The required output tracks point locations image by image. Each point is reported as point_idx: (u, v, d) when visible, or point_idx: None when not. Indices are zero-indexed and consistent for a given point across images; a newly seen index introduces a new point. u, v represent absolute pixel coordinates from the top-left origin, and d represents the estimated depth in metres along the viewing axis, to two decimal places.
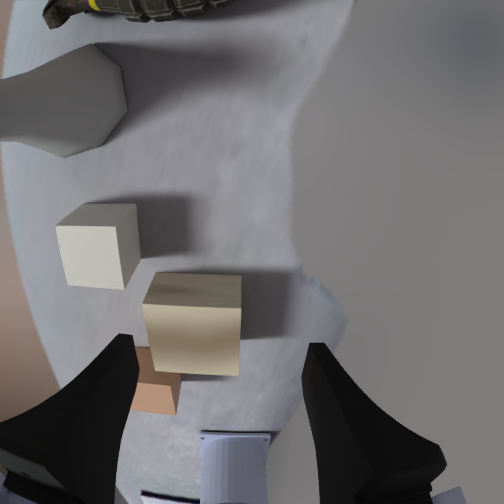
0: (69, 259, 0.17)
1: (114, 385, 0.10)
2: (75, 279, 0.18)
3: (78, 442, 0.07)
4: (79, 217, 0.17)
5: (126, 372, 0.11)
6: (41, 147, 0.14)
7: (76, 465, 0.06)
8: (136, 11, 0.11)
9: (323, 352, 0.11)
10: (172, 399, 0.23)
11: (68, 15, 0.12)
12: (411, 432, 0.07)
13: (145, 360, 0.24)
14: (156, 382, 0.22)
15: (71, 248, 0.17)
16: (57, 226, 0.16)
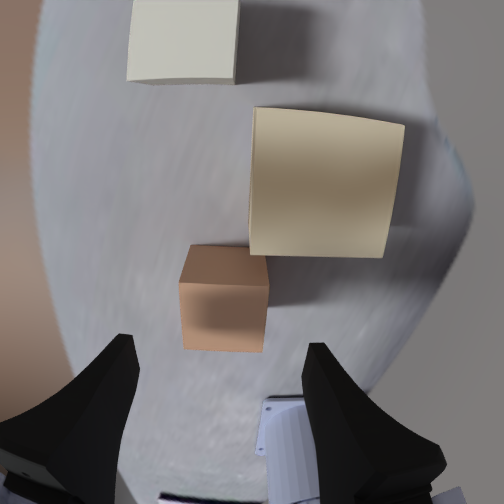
0: (143, 35, 0.09)
1: (114, 385, 0.10)
2: (143, 68, 0.10)
3: (78, 442, 0.07)
4: None
5: (126, 372, 0.11)
6: None
7: (76, 465, 0.06)
8: None
9: (323, 352, 0.11)
10: (264, 318, 0.15)
11: None
12: (411, 432, 0.07)
13: (217, 258, 0.16)
14: (243, 282, 0.14)
15: (153, 17, 0.09)
16: None
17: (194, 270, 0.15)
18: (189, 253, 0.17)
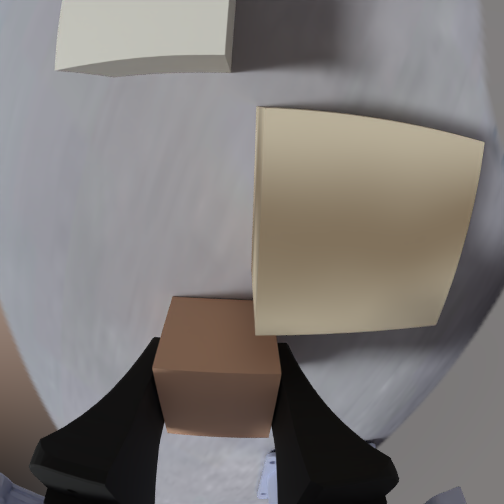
0: None
1: (155, 391, 0.10)
2: (78, 48, 0.05)
3: (129, 453, 0.07)
4: None
5: None
6: None
7: (128, 477, 0.06)
8: None
9: (283, 353, 0.11)
10: (273, 406, 0.10)
11: None
12: (362, 441, 0.07)
13: (207, 322, 0.11)
14: (243, 367, 0.10)
15: None
16: None
17: (175, 345, 0.10)
18: (169, 313, 0.12)
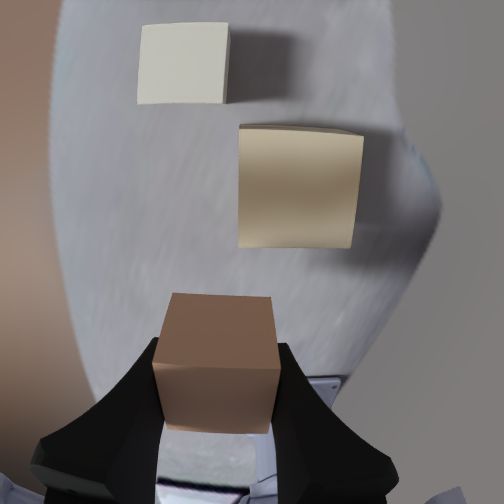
0: (150, 66, 0.12)
1: (155, 390, 0.10)
2: (150, 94, 0.13)
3: (129, 453, 0.07)
4: None
5: None
6: None
7: (128, 477, 0.06)
8: None
9: (283, 353, 0.11)
10: (272, 401, 0.10)
11: None
12: (362, 441, 0.07)
13: (207, 318, 0.12)
14: (243, 362, 0.10)
15: (158, 51, 0.12)
16: (145, 25, 0.11)
17: (175, 340, 0.10)
18: (169, 308, 0.12)
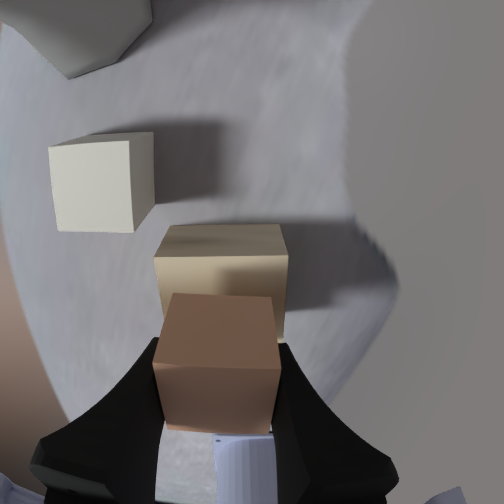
0: (62, 193, 0.12)
1: (155, 390, 0.10)
2: (67, 222, 0.13)
3: (129, 453, 0.07)
4: (80, 140, 0.13)
5: None
6: (44, 50, 0.10)
7: (128, 477, 0.06)
8: None
9: (283, 353, 0.11)
10: (273, 401, 0.10)
11: None
12: (362, 441, 0.07)
13: (207, 318, 0.12)
14: (243, 362, 0.10)
15: (66, 177, 0.12)
16: (51, 147, 0.11)
17: (175, 340, 0.10)
18: (170, 308, 0.12)
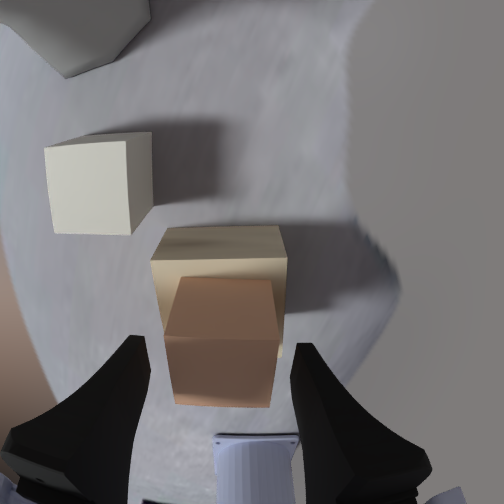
0: (58, 195, 0.12)
1: (127, 387, 0.10)
2: (64, 224, 0.13)
3: (94, 446, 0.07)
4: (77, 141, 0.12)
5: (138, 374, 0.11)
6: (40, 49, 0.09)
7: (92, 469, 0.06)
8: None
9: (310, 352, 0.11)
10: (273, 373, 0.12)
11: None
12: (396, 435, 0.07)
13: (212, 298, 0.13)
14: (246, 334, 0.11)
15: (62, 178, 0.12)
16: (46, 148, 0.11)
17: (184, 316, 0.12)
18: (178, 290, 0.13)
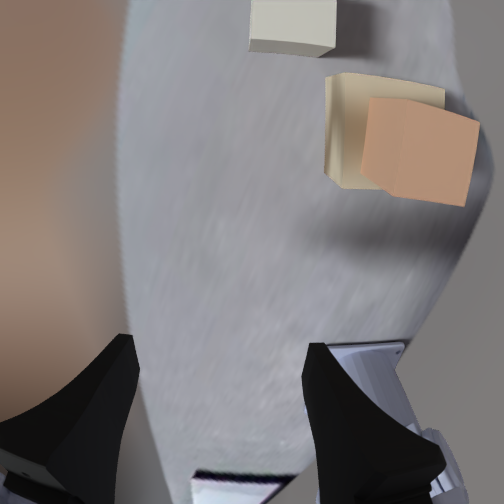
0: (264, 5, 0.12)
1: (114, 385, 0.10)
2: (265, 31, 0.12)
3: (78, 442, 0.07)
4: None
5: (126, 372, 0.11)
6: None
7: (76, 465, 0.06)
8: None
9: (323, 352, 0.11)
10: (472, 160, 0.11)
11: None
12: (411, 432, 0.07)
13: None
14: (458, 115, 0.11)
15: None
16: None
17: None
18: (379, 98, 0.13)
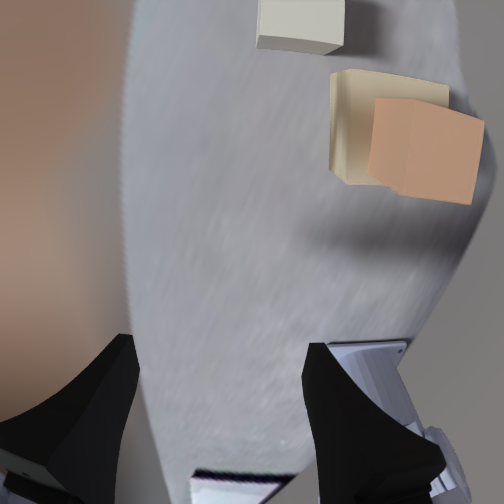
0: (273, 2, 0.11)
1: (114, 385, 0.10)
2: (274, 27, 0.12)
3: (78, 442, 0.07)
4: None
5: (126, 372, 0.11)
6: None
7: (76, 465, 0.06)
8: None
9: (323, 352, 0.11)
10: (478, 159, 0.11)
11: None
12: (411, 432, 0.07)
13: None
14: (464, 114, 0.11)
15: None
16: None
17: None
18: (386, 98, 0.13)
